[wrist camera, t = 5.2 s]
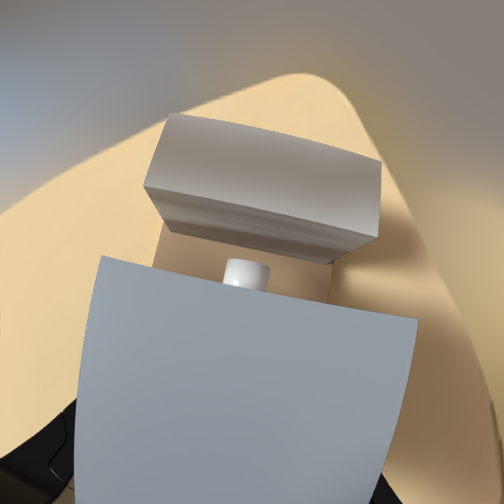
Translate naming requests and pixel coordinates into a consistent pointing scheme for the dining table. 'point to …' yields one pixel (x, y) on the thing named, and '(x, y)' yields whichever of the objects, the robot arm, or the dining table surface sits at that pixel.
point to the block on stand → (259, 203)
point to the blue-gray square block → (232, 392)
